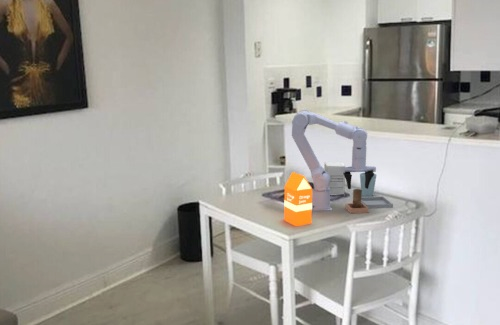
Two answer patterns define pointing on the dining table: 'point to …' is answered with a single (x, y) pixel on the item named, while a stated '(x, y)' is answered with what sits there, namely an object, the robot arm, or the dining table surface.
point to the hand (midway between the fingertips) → (357, 188)
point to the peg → (357, 198)
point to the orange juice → (298, 200)
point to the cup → (370, 189)
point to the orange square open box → (357, 210)
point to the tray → (376, 202)
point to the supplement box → (335, 177)
